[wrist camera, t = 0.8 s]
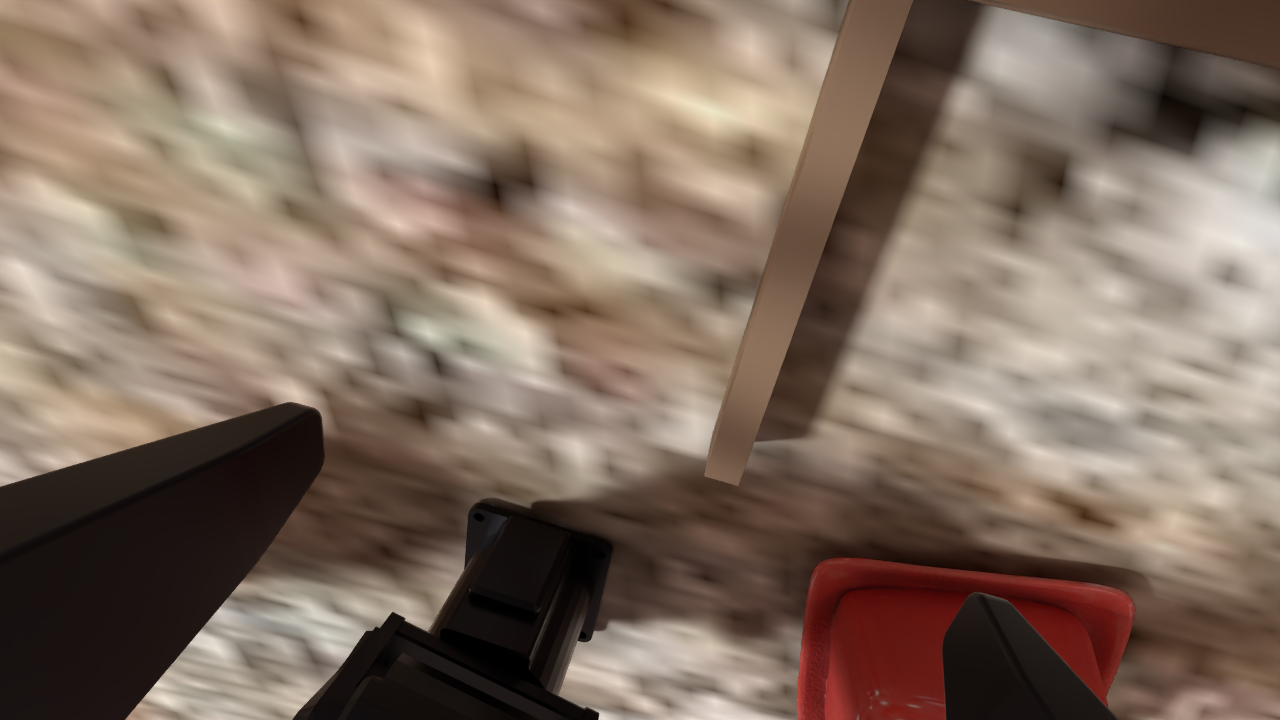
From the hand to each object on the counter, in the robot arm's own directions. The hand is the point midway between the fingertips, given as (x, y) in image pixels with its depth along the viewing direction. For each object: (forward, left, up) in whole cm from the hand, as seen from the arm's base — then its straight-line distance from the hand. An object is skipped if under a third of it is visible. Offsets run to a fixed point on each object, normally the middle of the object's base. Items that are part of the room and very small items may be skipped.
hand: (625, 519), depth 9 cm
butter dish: (-15, -13, -14) cm, 25 cm away
